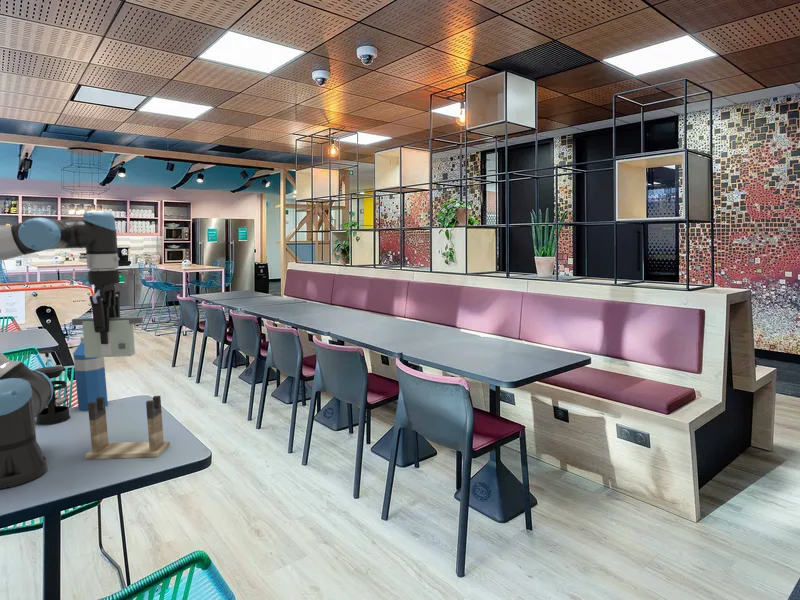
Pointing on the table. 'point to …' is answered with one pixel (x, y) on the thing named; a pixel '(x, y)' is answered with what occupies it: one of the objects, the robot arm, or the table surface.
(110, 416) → the table surface
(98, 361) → the water bottle
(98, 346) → the hanging file folder
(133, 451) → the hinge frame
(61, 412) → the french press
